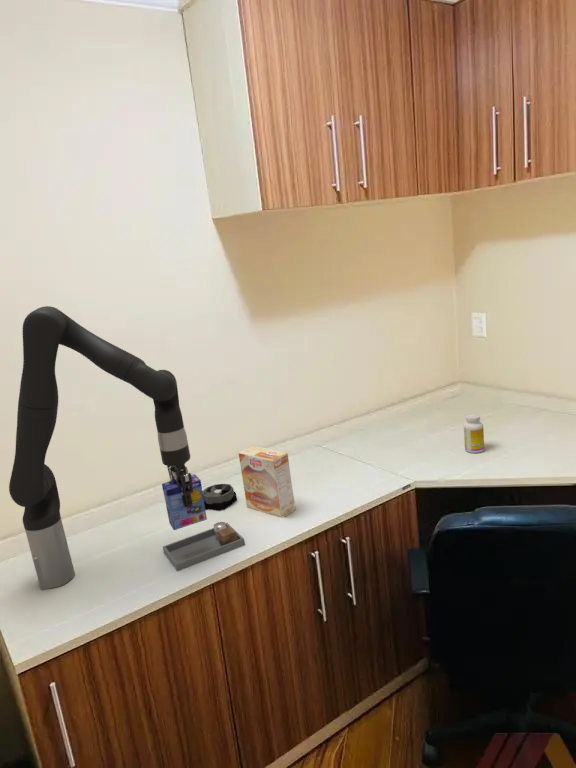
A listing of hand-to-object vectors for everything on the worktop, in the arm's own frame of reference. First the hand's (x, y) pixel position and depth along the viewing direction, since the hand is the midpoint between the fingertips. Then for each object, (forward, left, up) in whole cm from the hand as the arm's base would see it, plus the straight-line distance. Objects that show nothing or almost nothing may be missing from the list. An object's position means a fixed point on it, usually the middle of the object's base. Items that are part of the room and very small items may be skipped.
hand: (184, 502), depth 160 cm
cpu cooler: (+18, +24, -17) cm, 34 cm away
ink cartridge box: (0, 0, -6) cm, 6 cm away
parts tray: (+3, 0, -16) cm, 16 cm away
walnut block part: (+10, -2, -16) cm, 18 cm away
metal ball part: (+10, +3, -16) cm, 18 cm away
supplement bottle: (+106, -2, -16) cm, 107 cm away
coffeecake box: (+29, +9, -16) cm, 35 cm away
